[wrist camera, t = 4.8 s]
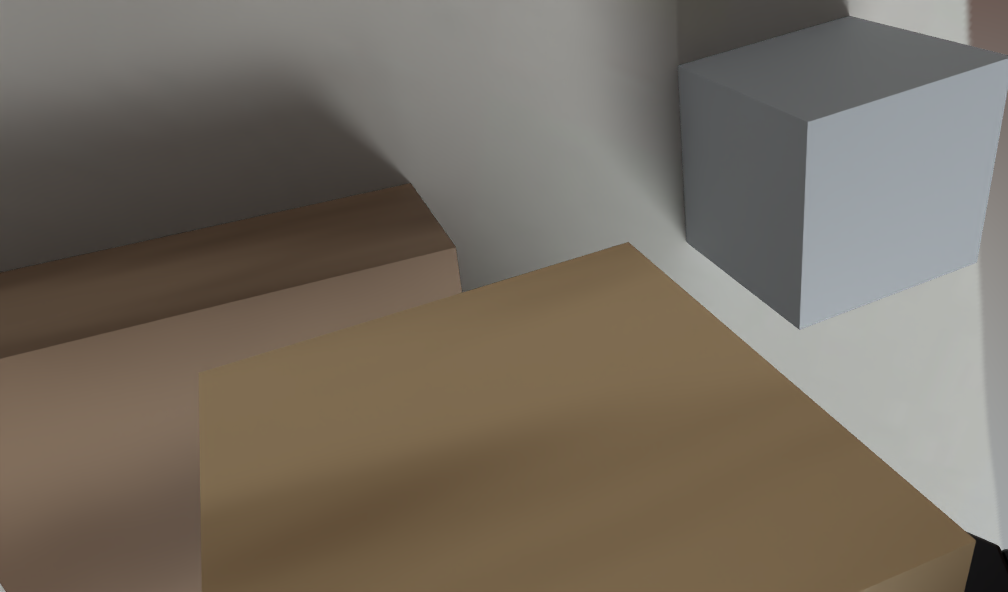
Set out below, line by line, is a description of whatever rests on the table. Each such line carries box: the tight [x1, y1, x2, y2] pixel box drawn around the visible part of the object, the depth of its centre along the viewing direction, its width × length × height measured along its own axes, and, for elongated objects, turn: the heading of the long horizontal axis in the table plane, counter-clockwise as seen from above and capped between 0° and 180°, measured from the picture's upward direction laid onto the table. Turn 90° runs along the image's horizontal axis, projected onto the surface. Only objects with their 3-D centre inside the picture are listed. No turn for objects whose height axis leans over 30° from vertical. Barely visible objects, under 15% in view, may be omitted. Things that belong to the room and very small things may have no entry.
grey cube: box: [678, 16, 1008, 330], centre depth 19 cm, size 5×5×5 cm
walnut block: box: [0, 183, 462, 592], centre depth 19 cm, size 10×10×4 cm
